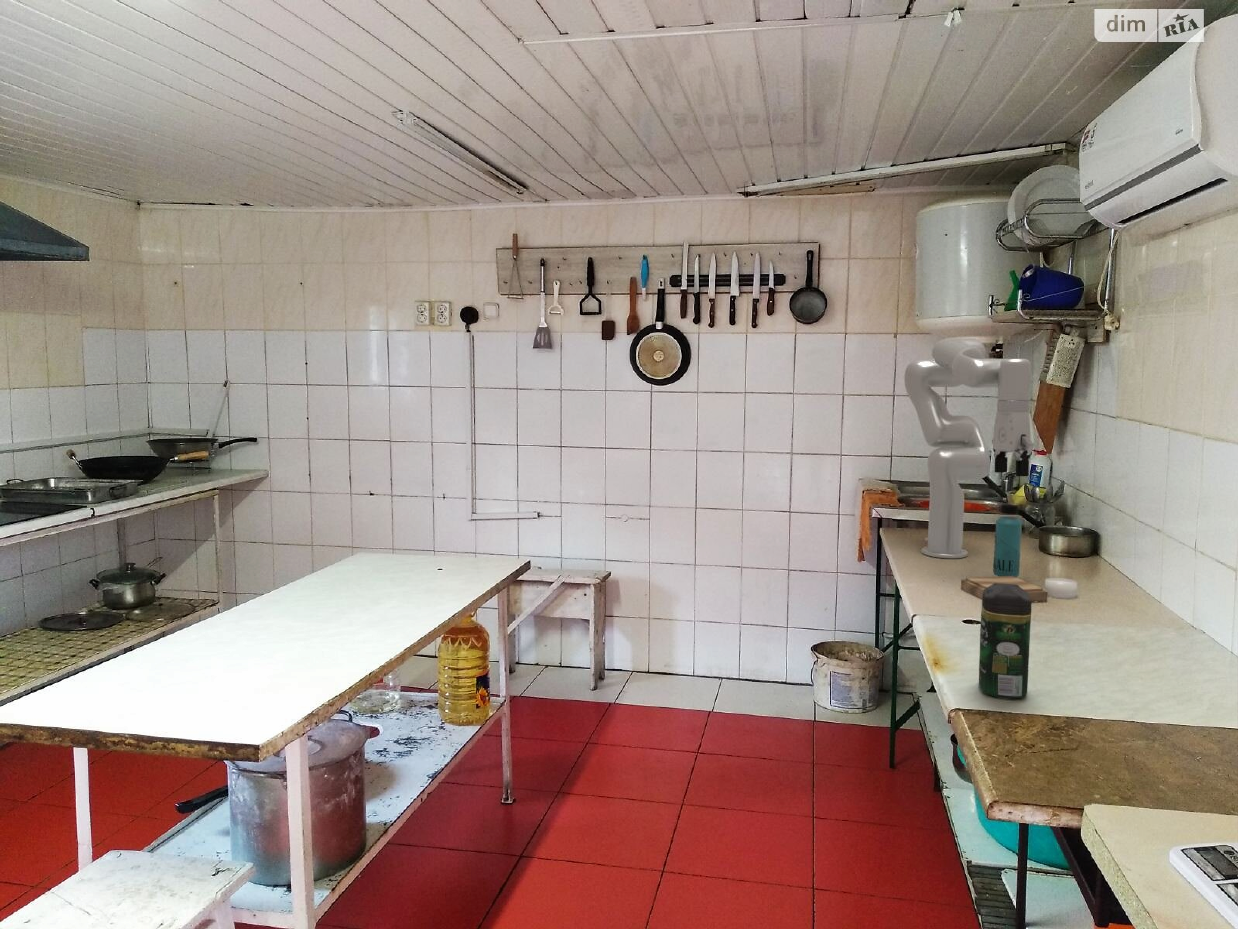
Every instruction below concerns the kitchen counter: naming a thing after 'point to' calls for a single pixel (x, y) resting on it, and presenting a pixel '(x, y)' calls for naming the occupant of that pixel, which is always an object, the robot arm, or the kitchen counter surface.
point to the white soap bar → (1061, 588)
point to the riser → (980, 583)
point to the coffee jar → (1004, 641)
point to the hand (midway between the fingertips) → (1011, 474)
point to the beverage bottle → (1007, 543)
